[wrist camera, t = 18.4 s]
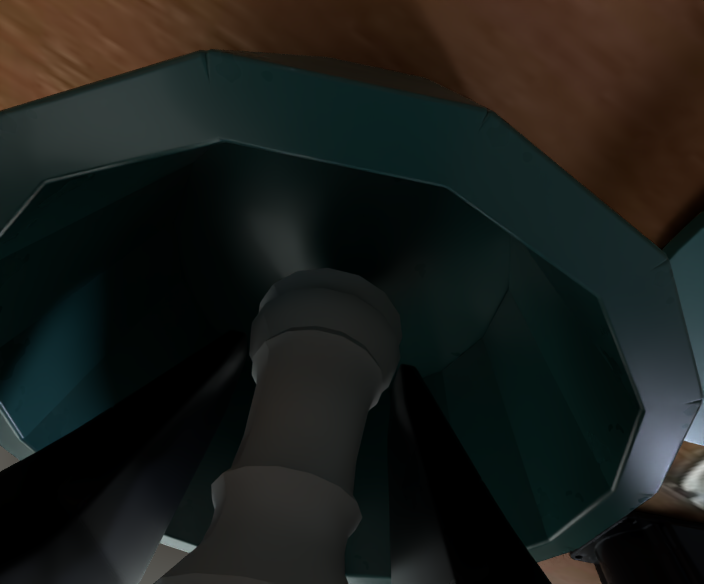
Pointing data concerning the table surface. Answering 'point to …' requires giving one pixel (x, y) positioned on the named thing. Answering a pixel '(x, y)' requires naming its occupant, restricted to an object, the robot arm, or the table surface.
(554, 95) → the table surface
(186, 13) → the table surface
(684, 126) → the table surface
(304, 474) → the rook chess piece
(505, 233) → the pot
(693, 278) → the lid
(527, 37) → the table surface
